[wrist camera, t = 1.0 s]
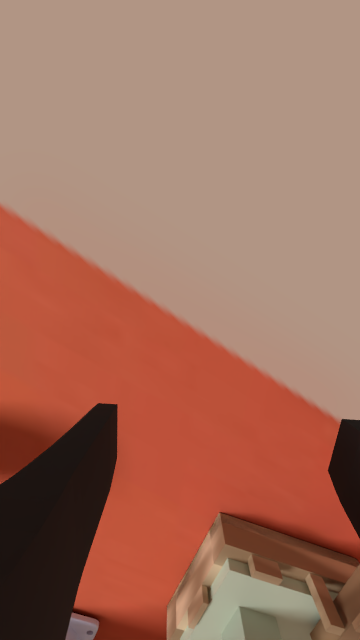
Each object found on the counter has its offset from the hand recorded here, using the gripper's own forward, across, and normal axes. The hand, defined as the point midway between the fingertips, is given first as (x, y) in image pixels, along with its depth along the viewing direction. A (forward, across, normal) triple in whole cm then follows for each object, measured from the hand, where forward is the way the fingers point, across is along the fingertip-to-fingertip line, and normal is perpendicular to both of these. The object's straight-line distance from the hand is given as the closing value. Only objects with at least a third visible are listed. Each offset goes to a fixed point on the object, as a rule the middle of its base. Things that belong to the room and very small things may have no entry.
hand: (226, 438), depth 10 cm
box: (+9, -6, +21) cm, 23 cm away
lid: (+6, -6, +20) cm, 22 cm away
